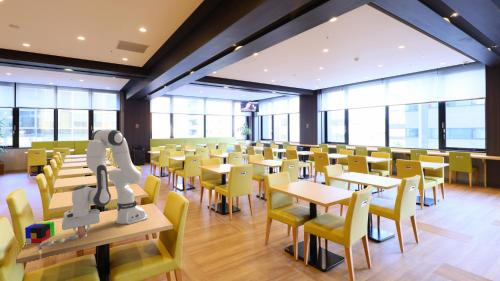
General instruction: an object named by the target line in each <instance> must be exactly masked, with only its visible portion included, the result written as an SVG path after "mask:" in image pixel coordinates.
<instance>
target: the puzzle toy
mask: <svg viewBox="0 0 500 281" xmlns="http://www.w3.org/2000/svg"><path fill="white" fill-rule="evenodd" d="M24 236H25V244H26V243H29V244H28V245H39V244H40V243H44V242H46V241H47V240H48V239H50V238H53V237H54V236H55V221H37V222H35V223H33V224H30V225H28V226H25V228H24Z"/></svg>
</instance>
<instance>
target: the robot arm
mask: <svg viewBox="0 0 500 281" xmlns="http://www.w3.org/2000/svg"><path fill="white" fill-rule="evenodd" d="M108 146H110V148H111V153H112V155H111V156H112V159H113V163H114V165H115V166H117V167H118V168H114V169H111V170H110V171H109V173H108V170H107V158H106V157H107V156H106V155H107V154H106V153H107V150H106V149H107V147H108ZM85 158H86V160H85V162H86V166H87V168H88V169H89V170H90V171H91V172H92V173H93V174H94V176H95V178H96V187H90V186H87V184H86V185H85V184H82V185H78V186H76V187H74V188H73V189H72V192H71V203H72V207H71V209H70V210H67V211H65V212H64V213H63V218H62V221H61V230H63V231H66V230H71V229H72V230H73V231H74V233H75V234H74V236H77V235H78V230H77V229H78V227H81V226H85V227H86V226H87V227H86V228H85V232H86V233H89V229H90V228H91V225H96V224H99V223H100V221H101V220H100V219H101V218H100V212H101V211H100V209H97V208H94V209H90V204H94V205H95V206H97V207H99V208H100V207H105V206H107V205H108V204H109V203H110V201H111V198H112V194H111V192H110V190H109V181H110V182H111V183H112V184H113V185H114V188H115V189H116V194H117V195H116V196H117V203H116V210H117V213H116V214H117V215H116V220H115V223H116V224H119V225H120V224H121V225H123V224H124V225H131V224H134V223H138V222H142V221H145V220H148V219H149V214H147V213H146V211H145V209H144V208H142V207H141V206H139V201H136V200H135V190H133V188H132V187H131V186H130V185H135V184H139V183H140V182H141V180H142V178H143V177H142V176H143V175H142V172H141V171H140V170H139V169H137V168H136V166H135V165H134V163H133V162H132V158H131V154H130V149H129V146H128V142H127V140H126V138H125V137H124V134H123V133H122V131H121V130H117V129H109V128H108V129H98V130H96V131H94V132H93V133H92V135H91V140H90V141H89V142H88V143H87V147H86V157H85Z"/></svg>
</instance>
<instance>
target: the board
mask: <svg viewBox="0 0 500 281" xmlns="http://www.w3.org/2000/svg"><path fill="white" fill-rule="evenodd" d="M86 237H87V238H88V234H87V233H86V235H85V236H83V237H78V234H76V235H74V236H69V237H65V238H60V239H56V240H51V241H44V242H42V243H40V244H37V245H38V249H37V250H38V251H41V250H42V249H43V247H47V246H51V245H56V244H61V243H64V242H68V241H73V240H78V239H83V238H86Z"/></svg>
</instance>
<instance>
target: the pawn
mask: <svg viewBox="0 0 500 281" xmlns="http://www.w3.org/2000/svg"><path fill="white" fill-rule="evenodd" d="M85 229H86V226H81V227H77V231H78V234H77V235H78V237H83V236H85V235H86V234H87V232H85ZM83 238H84V237H83Z"/></svg>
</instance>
